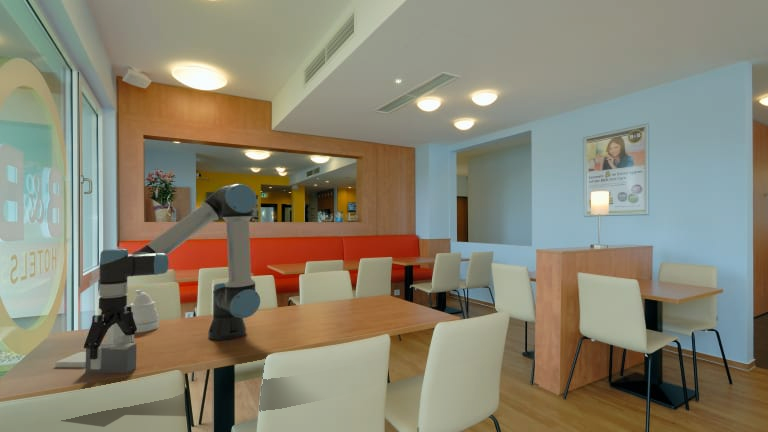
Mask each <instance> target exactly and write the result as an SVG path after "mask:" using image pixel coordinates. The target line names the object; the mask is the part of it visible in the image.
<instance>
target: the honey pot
mask: <svg viewBox="0 0 768 432" xmlns="http://www.w3.org/2000/svg"><path fill="white" fill-rule="evenodd" d="M134 293H135V294H136V295H137V296H136V297H135V299H134V300H133V302H131V303H129V305H128V307H131V312H133V318H134V322H135V325H136V328H137V330H136V331H135V334H137V333H144V332H145V333H146V332H149V331H154V330H157V329H158V328H159V322H160V321H159V319H160V318H159V314H158V311H157V308H156V306H155V304H156V301H154V300H153V299H152V298H151V296H150V295H149V294H148V293H146V292H144V291H142V289H135V290H134Z"/></svg>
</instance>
